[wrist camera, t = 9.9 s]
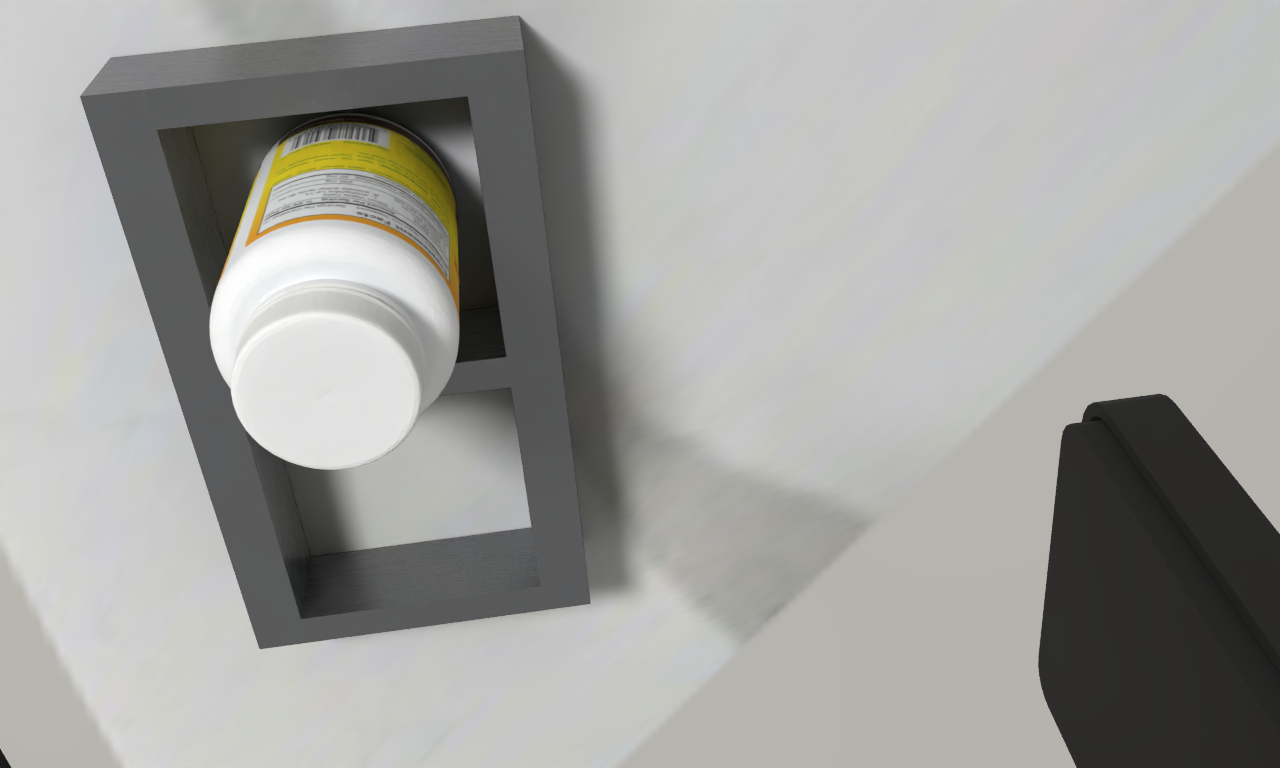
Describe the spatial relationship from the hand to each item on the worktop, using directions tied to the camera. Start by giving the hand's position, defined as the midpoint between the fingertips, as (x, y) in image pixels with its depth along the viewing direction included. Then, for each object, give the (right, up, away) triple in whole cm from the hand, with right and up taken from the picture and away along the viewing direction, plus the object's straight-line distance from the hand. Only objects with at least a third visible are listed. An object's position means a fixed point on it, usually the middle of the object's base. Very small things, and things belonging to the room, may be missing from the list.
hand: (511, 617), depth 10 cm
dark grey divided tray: (-7, +3, +26) cm, 27 cm away
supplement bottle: (-7, +7, +24) cm, 26 cm away
